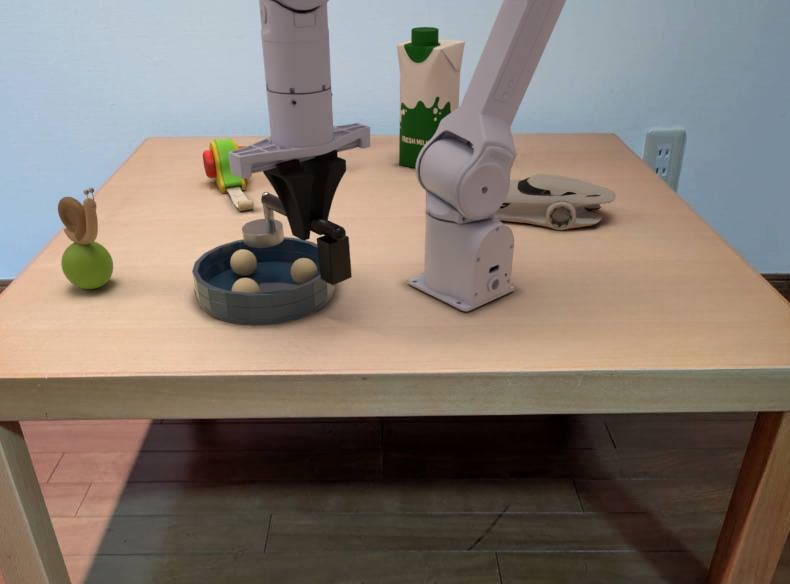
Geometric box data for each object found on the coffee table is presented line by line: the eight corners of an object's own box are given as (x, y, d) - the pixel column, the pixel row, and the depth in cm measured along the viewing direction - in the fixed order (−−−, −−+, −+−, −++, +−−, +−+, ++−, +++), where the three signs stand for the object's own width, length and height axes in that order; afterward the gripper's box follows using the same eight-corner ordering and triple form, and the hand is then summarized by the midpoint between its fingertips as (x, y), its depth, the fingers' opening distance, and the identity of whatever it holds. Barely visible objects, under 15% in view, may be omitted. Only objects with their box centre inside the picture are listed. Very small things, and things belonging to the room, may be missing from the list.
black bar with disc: (236, 239, 80) (227, 188, 77) (270, 228, 82) (262, 177, 79) (328, 291, 70) (323, 234, 66) (364, 276, 72) (360, 220, 68)
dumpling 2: (267, 305, 78) (264, 279, 77) (242, 314, 77) (239, 288, 75) (251, 295, 80) (248, 270, 78) (228, 304, 79) (224, 278, 77)
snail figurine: (96, 303, 80) (68, 196, 73) (58, 290, 83) (27, 186, 76) (133, 285, 84) (110, 181, 77) (96, 272, 87) (70, 171, 80)
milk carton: (391, 165, 119) (391, 29, 107) (419, 151, 125) (421, 21, 113) (438, 174, 115) (443, 33, 103) (464, 159, 121) (472, 25, 110)
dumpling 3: (323, 284, 82) (322, 259, 81) (301, 292, 81) (299, 267, 79) (308, 275, 84) (306, 251, 82) (286, 283, 83) (284, 258, 81)
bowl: (361, 294, 81) (360, 265, 79) (244, 340, 74) (240, 309, 71) (284, 253, 91) (281, 226, 89) (173, 289, 83) (167, 261, 81)
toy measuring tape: (241, 169, 118) (236, 127, 115) (268, 209, 103) (264, 162, 100) (201, 173, 117) (195, 131, 113) (224, 215, 102) (217, 168, 98)
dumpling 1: (263, 275, 84) (260, 250, 83) (240, 282, 83) (237, 258, 81) (249, 267, 86) (246, 243, 85) (227, 274, 85) (223, 250, 83)
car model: (439, 193, 108) (441, 159, 105) (609, 204, 104) (616, 168, 101) (428, 221, 99) (429, 185, 96) (613, 234, 95) (620, 196, 92)
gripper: (336, 69, 70) (342, 206, 78) (203, 92, 63) (224, 241, 71) (384, 80, 66) (385, 224, 74) (246, 107, 58) (263, 264, 66)
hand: (309, 234), depth 72 cm, fingers closed on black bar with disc
